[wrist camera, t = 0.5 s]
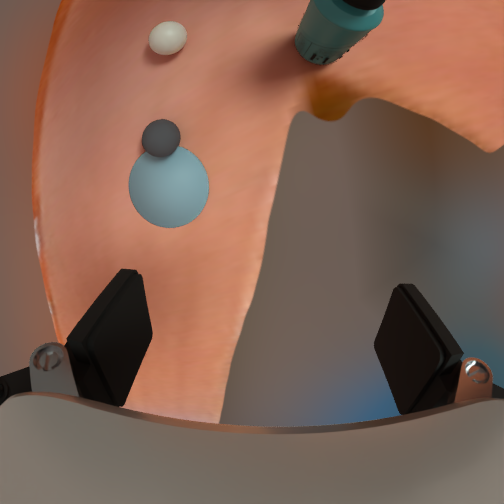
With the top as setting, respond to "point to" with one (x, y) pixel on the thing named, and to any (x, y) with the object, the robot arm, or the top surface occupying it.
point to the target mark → (169, 188)
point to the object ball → (161, 138)
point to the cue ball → (167, 38)
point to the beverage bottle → (335, 27)
